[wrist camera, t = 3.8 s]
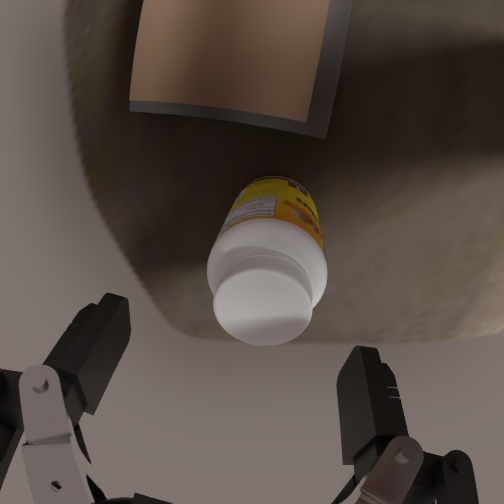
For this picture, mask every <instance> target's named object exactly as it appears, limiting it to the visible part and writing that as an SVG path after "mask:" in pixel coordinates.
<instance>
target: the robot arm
mask: <svg viewBox="0 0 504 504" xmlns="http://www.w3.org/2000/svg"><path fill="white" fill-rule="evenodd" d="M130 334H131V325H130V313H129V302H128V299H127V298H125V297H122V296H118V295H115V294H111V293H106V294H105V295H104V296H103V298H102V299H101V301H100V302H99V303H98V305H96V304H93V303H90V304H89V305H88V306H86V307H84V308H83V309H81V310H80V311H79V312H78V314H77V315H76V317H75V318H74V319H73V321H72V323H70V325H69V326H68V328H67V329H66V331H65V332H64V333H63V335H62V336H61V338H60V339H59V341H58V342H57V344H56V345H55V346H54V348H53V349H52V351H51V352H50V354H49V355H48V357H47V358H46V360H45V361H44V363H43V364H42V365H34V366H31V367H29V368H28V369H26V370H25V371H24V372H17V371H11V370H4V369H1V368H0V490H1V487H2V484H3V481H4V478H5V476H6V473H7V471H8V468H9V465H10V463H11V460H12V458H13V455H14V453H15V450H16V448H17V446H18V443H19V441H20V438H21V436H22V434H23V432H24V430H25V435H26V443H25V444H23V446H22V454H23V459H24V464H25V469H26V473H27V477H28V481H29V485H30V489H31V492H32V496H33V499H34V502H35V504H172V503H170V502H166V501H162V500H158V499H155V498H151V497H148V496H145V495H141V494H138V493H135V494H134V497H133V498H129V497H123V498H122V497H120V498H111V499H109V497H108V494H107V492H106V490H105V487H104V485H103V483H102V481H101V479H100V477H99V475H98V473H97V471H96V469H95V466H94V463H93V461H92V458H91V455H90V452H89V449H88V446H87V443H86V440H85V436H84V433H83V430H82V426H81V423H80V418H81V416H82V414H83V412H86V413H89V414H91V415H94V413H95V411H96V409H97V406H98V405H99V402H100V400H101V398H102V396H103V394H104V392H105V390H106V388H107V385H108V383H109V381H110V379H111V377H112V375H113V373H114V371H115V369H116V367H117V365H118V363H119V361H120V359H121V357H122V355H123V353H124V351H125V349H126V347H127V345H128V342H129V339H130ZM337 396H338V406H339V418H340V429H341V442H342V458H343V465H354V472H353V473H352V474H351V475H350V476H349V478H348V479H347V480H346V482H345V483H344V484H343V486H342V487H341V488H340V489H339V491H338V492H337V493H336V494H335V496H334V497H333V498H332V499H331V501H330V502H329V503H328V504H435V500H437V504H479V502H478V495H477V489H476V483H475V477H474V471H473V466H472V463H471V460H470V458H469V457H468V455H467V454H466V453H464V452H462V451H460V450H453V451H450V452H449V453H448V454H446V455H445V456H439V455H435V454H431V453H427V452H424V451H423V450H422V448H421V446H420V444H419V443H418V442H417V441H416V440H415V439H413V438H411V437H409V435H408V431H407V426H406V421H405V416H404V412H403V408H402V404H401V399H399V397H400V395H399V391H398V389H397V384H396V379H395V376H394V374H393V372H392V371H391V369H390V368H389V366H388V365H387V364H386V363H381V360H380V356H379V352H378V350H377V349H376V348H372V347H365V346H355V347H354V348H353V350H352V352H351V354H350V355H349V357H348V359H347V360H346V362H345V364H344V365H343V367H342V369H341V370H340V372H339V375H338V379H337Z"/></svg>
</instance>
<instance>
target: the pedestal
mask: <svg viewBox="0 0 504 504" xmlns="http://www.w3.org/2000/svg"><path fill="white" fill-rule="evenodd" d="M352 5H353V0H144V2H143V7H142V12H141V17H140V23H139V28H138V34H137V40H136V47H135V54H134V61H133V69H132V77H131V87H130V97H129V100H130V109H129V111H131V112H148V113H161V114H173V115H183V116H192V117H201V118H209V119H217V120H224V121H231V122H238V123H244V124H250V125H256V126H262V127H267V128H273V129H278V130H283V131H288V132H293V133H298V134H302V135H307V136H312V137H316V138H320V139H325V140H326V137H327V132H328V128H329V123H330V119H331V114H332V109H333V105H334V100H335V95H336V90H337V86H338V81H339V76H340V71H341V66H342V60H343V55H344V50H345V45H346V39H347V34H348V28H349V23H350V17H351V11H352Z"/></svg>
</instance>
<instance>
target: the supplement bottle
mask: <svg viewBox="0 0 504 504" xmlns="http://www.w3.org/2000/svg"><path fill="white" fill-rule="evenodd" d="M207 277H208V283H209V286H210V288H211V291H212V293H213V295H214V300H213V308H214V313H215V316H216V318H217V320H218V322H219V323H220V325H221V326H222V327H223V328H224V330H225V331H227V332H228V333H229V334H230V335H232V336H233V337H235V338H237V339H239V340H241V341H243V342H246V343H249V344H253V345H260V346H272V345H278V344H282V343H285V342H288V341H290V340H292V339H294V338H296V337H297V336H299V335H300V334H301V333H302V332H303V331H304V330H305V329H306V327H307V326H308V324H309V322H310V319H311V316H312V309H313V308H314V306H315V305H316V304H317V303H318V302H319V300H320V299H321V297H322V295H323V293H324V290H325V287H326V283H327V263H326V257H325V252H324V246H323V240H322V236H321V230H320V225H319V220H318V215H317V210H316V207H315V203H314V201H313V199H312V197H311V196H310V194H309V193H308V192H307V190H306V189H305V188H304V187H302V186H301V185H300V184H298V183H297V182H295V181H294V180H291V179H289V178H286V177H281V176H267V177H262V178H259V179H256V180H254V181H252V182H251V183H249V184H248V185H247V186H245V187H244V188H243V189H242V191H241V192H240V193H239V194H238V196H237V198H236V200H235V202H234V204H233V206H232V207H231V210H230V212H229V214H228V216H227V218H226V220H225V222H224V224H223V226H222V229H221V231H220V233H219V235H218V237H217V239H216V241H215V243H214V245H213V248H212V250H211V252H210V256H209V259H208V263H207Z"/></svg>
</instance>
